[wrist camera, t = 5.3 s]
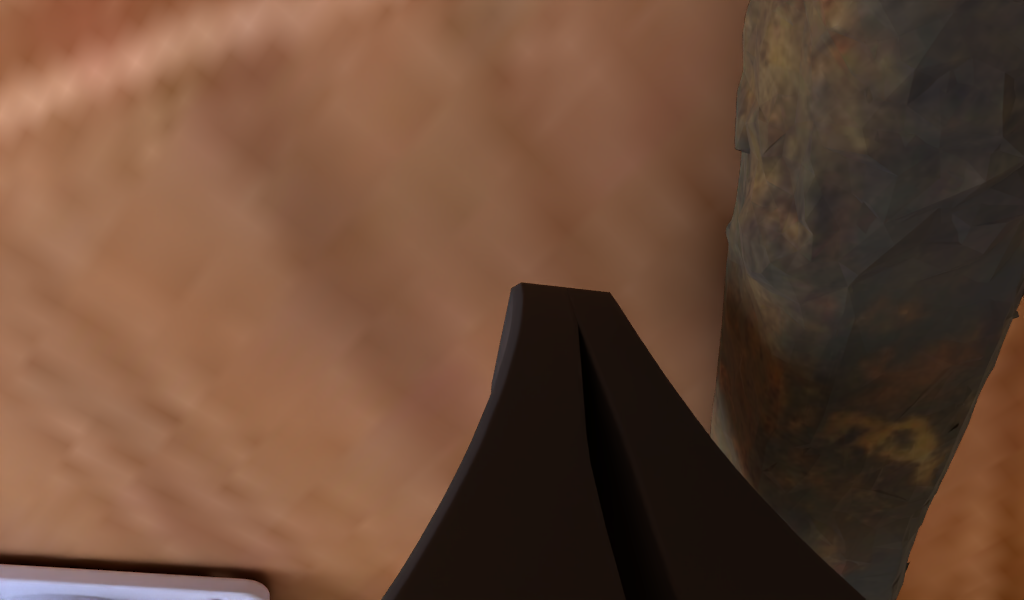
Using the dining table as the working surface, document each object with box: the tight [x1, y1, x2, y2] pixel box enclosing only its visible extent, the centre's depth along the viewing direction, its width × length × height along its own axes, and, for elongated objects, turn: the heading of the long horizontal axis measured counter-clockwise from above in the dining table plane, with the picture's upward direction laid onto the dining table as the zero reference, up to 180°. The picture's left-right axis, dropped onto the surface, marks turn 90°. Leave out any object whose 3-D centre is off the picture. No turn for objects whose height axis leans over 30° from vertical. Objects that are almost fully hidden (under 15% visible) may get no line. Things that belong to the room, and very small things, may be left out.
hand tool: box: [710, 0, 1024, 600], centre depth 11 cm, size 19×4×5 cm, turn 2°
